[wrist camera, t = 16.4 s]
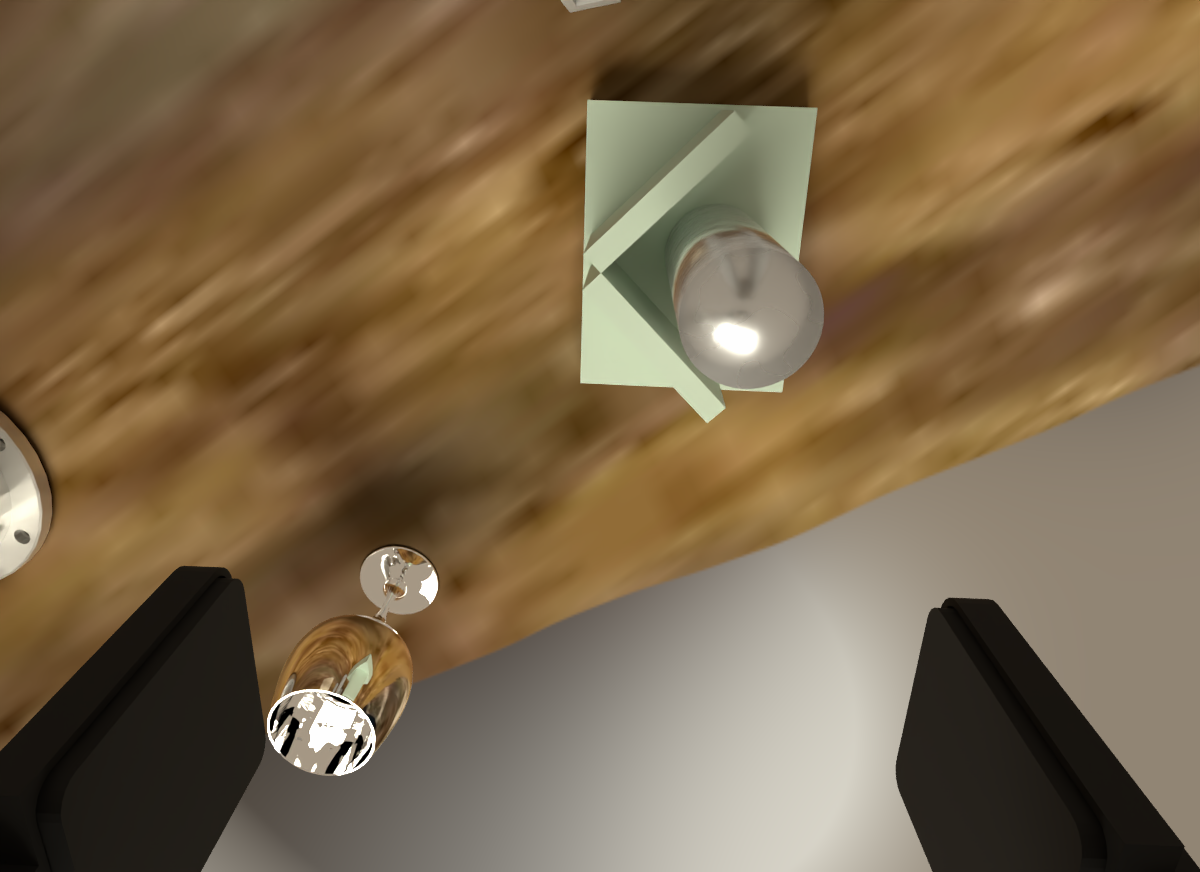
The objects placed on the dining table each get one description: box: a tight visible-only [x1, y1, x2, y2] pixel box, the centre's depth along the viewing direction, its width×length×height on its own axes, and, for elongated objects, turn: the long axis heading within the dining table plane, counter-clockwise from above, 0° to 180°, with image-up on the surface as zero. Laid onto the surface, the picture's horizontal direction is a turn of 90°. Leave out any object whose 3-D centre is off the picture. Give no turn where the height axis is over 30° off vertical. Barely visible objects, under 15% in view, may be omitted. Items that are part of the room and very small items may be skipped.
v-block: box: [580, 100, 817, 423], centre depth 35 cm, size 10×12×7 cm
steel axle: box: [665, 204, 824, 389], centre depth 30 cm, size 4×4×12 cm
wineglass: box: [267, 546, 439, 776], centre depth 40 cm, size 6×6×12 cm
